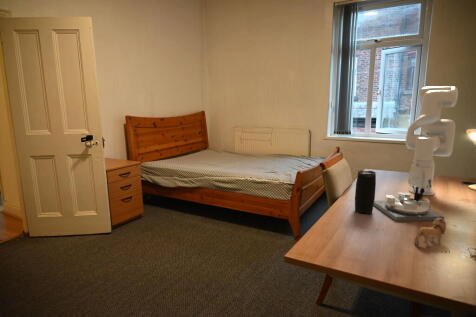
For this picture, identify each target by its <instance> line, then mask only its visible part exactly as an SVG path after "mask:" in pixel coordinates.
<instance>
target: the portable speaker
mask: <svg viewBox="0 0 476 317" xmlns="http://www.w3.org/2000/svg"><path fill="white" fill-rule="evenodd" d="M355 181H356V182H355V191H354V193H355V195H354V212H356V213H358V214H361V213H364V214H365V213H366V214H367V215H371V214H373V211H374V210H373V209H374V207H375V206H374V201H376V198H375V197H376V186H377V184H376V183H377V174H376V171H374V170H358V171H357V177H356V180H355Z"/></svg>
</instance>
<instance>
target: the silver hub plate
mask: <svg viewBox="0 0 476 317" xmlns="http://www.w3.org/2000/svg"><path fill="white" fill-rule="evenodd" d="M384 197H385V198H384V201H385V206H386V207H387V208H389V209H391V210H393V211H396V212H400V213H405V214H413V215H421V214H426V213H427V212H428V208H429V207H430V205H431V201H430V199H428V198H427V197H425V198H424V197H422V198H419V201H416V200H414V198H412V197H411V194H410V193H409V192H401V191H398V192H397V196H394V195H393V194H392V195H391V194H385V196H384ZM429 209H430V208H429Z"/></svg>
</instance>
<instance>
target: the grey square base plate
mask: <svg viewBox="0 0 476 317" xmlns="http://www.w3.org/2000/svg"><path fill="white" fill-rule="evenodd" d="M385 201H386V200H374V206H373V207H375V208H376V209H377V210H379V211H381V212H382V213H384V215H386V216H387V217H389V218H390V219H392V220H393V221H395V222H433V221H435V219H437V218H442V219H444V220H445V216H444V215H442V214H441V213H438V212H437V211H435V210H433V209H431V208H428V212H427V213H426V214H421V215H413V214H405V213H400V212H396V211H393V210H391V209H389V208H387V207H386V206H385Z"/></svg>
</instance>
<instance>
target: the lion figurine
mask: <svg viewBox="0 0 476 317" xmlns="http://www.w3.org/2000/svg"><path fill="white" fill-rule="evenodd" d="M432 224H433V225H432V226H431V227H430V226H429V227H426V226H424V227H420V228H419V230H418V233H417V235H416V237H415V238H414V241H413V244H414V245H415V246H416V247H419V240H420V238H422V236H423V238H424V241H423V243H424V244H425V246H426V247H427V248H430V247H431V245H430V244H428V241H430V242H434V241H435V239H434V237H437V241H436V243H437V244H439V245H442V242H441V240H442V235H444V234H445V232H446V229H447V228H446V227H447V222H446V221H445V218H444V219H442V218H437V219H435V221H432Z"/></svg>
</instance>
